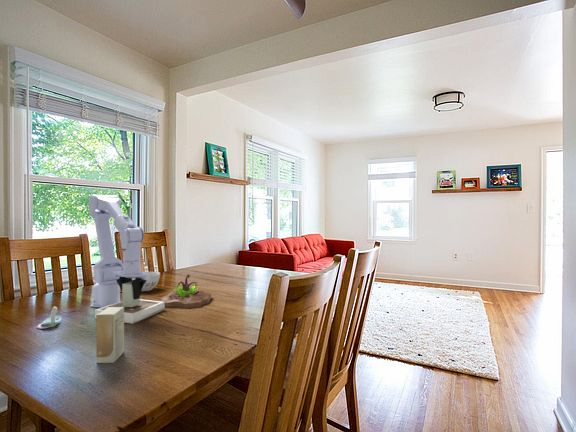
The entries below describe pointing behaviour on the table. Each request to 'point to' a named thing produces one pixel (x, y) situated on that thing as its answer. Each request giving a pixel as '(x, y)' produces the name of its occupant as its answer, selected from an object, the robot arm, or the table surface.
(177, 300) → the plant
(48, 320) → the pacifier
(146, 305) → the hole plate
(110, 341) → the skincare box
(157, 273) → the teacup
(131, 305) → the peg
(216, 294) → the table surface
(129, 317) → the tray
